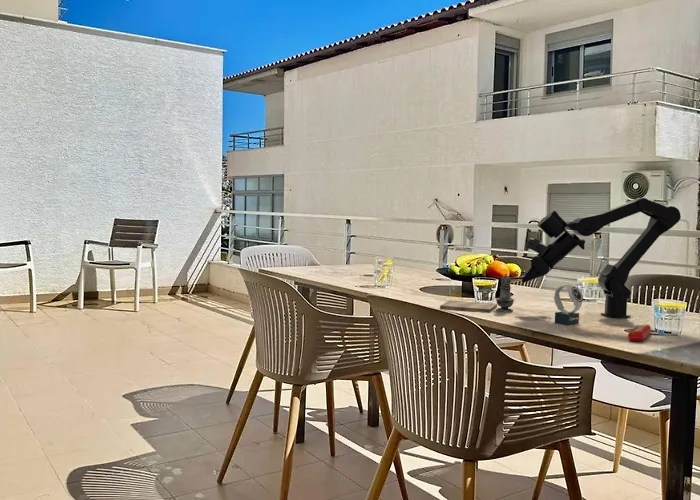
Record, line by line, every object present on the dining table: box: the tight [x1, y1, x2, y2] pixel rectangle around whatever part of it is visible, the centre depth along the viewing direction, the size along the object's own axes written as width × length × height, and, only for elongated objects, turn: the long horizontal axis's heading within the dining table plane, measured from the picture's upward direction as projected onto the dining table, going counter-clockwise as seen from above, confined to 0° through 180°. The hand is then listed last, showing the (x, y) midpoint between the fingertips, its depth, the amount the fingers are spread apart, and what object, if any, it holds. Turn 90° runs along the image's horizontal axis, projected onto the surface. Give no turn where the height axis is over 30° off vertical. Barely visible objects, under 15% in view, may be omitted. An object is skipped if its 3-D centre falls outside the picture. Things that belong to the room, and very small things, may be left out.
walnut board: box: [439, 299, 498, 313], centre depth 217 cm, size 16×14×1 cm
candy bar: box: [627, 324, 652, 342], centre depth 171 cm, size 16×4×3 cm, turn 147°
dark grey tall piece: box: [495, 273, 515, 313], centre depth 213 cm, size 6×6×12 cm
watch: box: [553, 284, 584, 326], centre depth 190 cm, size 6×8×11 cm
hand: (522, 281), depth 211 cm, fingers closed
